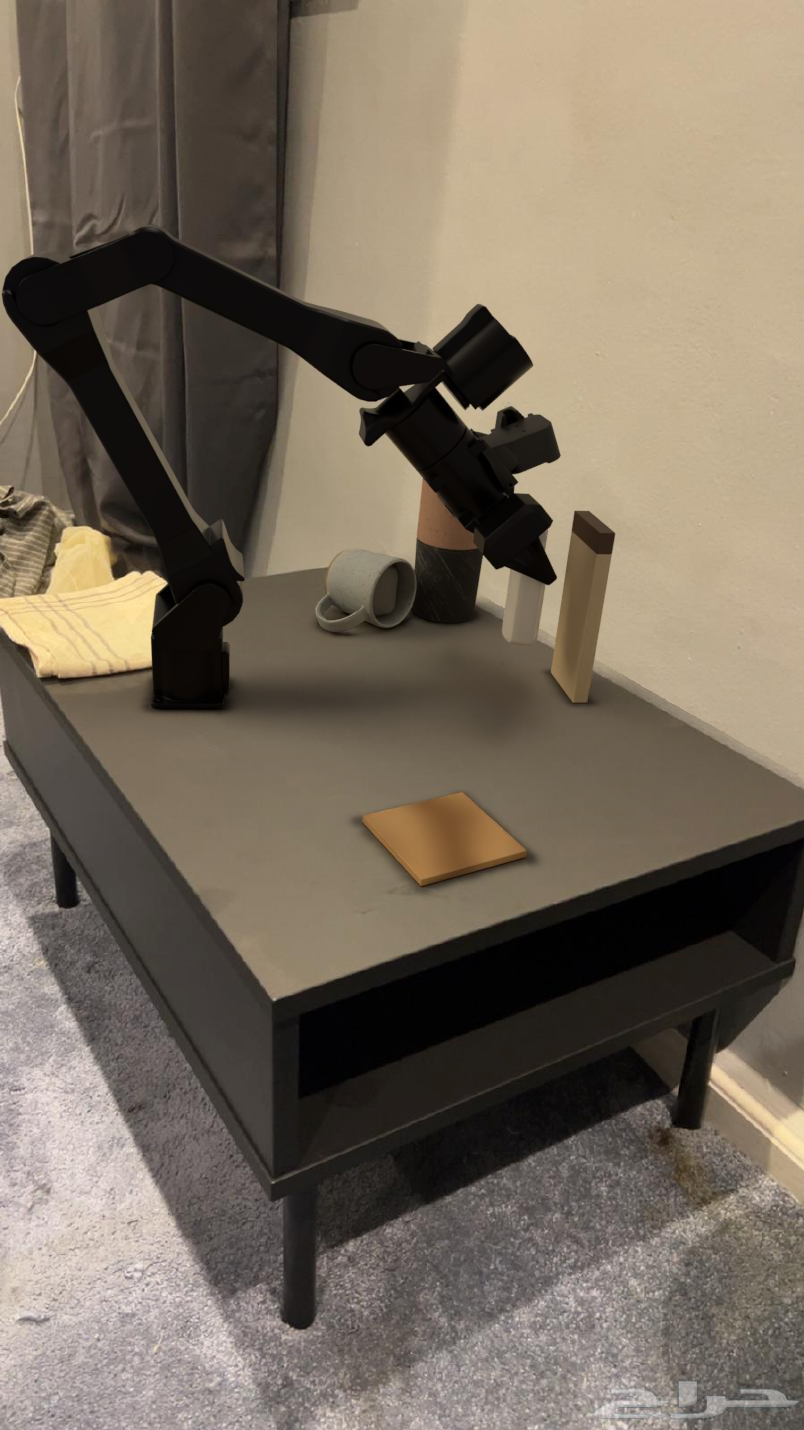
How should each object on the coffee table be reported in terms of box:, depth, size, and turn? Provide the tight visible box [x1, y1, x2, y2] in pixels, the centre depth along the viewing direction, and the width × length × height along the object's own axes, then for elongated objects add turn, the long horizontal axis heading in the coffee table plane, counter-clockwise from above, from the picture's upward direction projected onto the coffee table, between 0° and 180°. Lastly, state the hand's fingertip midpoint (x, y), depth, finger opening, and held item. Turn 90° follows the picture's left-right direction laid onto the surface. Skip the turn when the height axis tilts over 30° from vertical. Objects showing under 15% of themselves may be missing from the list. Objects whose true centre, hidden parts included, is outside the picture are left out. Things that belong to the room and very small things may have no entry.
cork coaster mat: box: [362, 791, 528, 887], centre depth 79 cm, size 9×9×1 cm
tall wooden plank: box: [550, 510, 616, 704], centre depth 101 cm, size 2×7×17 cm, turn 10°
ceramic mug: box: [315, 548, 417, 633], centre depth 115 cm, size 11×8×8 cm
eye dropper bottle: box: [501, 529, 549, 646], centre depth 98 cm, size 4×6×12 cm
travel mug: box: [412, 430, 489, 624], centre depth 116 cm, size 8×8×20 cm
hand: (543, 570), depth 98 cm, fingers closed on eye dropper bottle, 5 cm apart
